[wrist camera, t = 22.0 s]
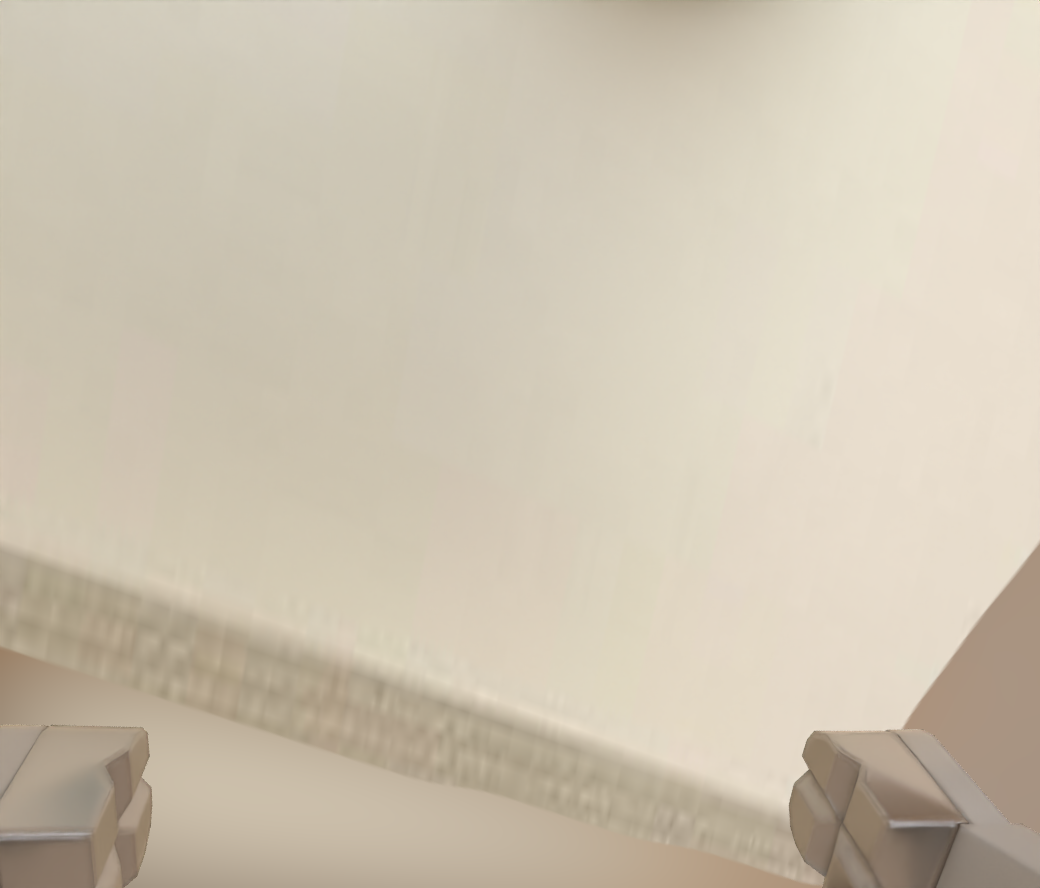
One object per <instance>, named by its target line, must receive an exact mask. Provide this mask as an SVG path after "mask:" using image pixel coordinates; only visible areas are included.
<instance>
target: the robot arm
mask: <svg viewBox="0 0 1040 888" xmlns="http://www.w3.org/2000/svg"><path fill="white" fill-rule="evenodd" d="M149 756H150V754H149V744H148V733H147V732H146V731H145V730H144V728H142V727H108V726H107V727H106V726H70V725H51V726H45V725H44V726H43V725H41V726H40V725H1V726H0V888H124V887H125V886H126V885H127V884H129V883H130V882H131V881H132V880H133V879H134V878H136V877H137V875H138V872H139V869H140V866H141V863H142V860H143V858H144V855H145V851H146V846H147V841H148V836H149V831H150V827H151V814H152V789H151V786H150V785H149V784H148V783H147V782H146V781H145V780H144V779H143V778H142V777H141V776H142V774H143V771H144V769H145V766H146V764H147V761H148V759H149ZM802 757H803V759H804V761H805V762H806V764H807V766H808V768H809V770H808V771H807V772H806V773H805V774H804V775H803V776H801V777H800V778H799V779H798V780H797V781H796V782H795V783H794V786H793V790H792V794H791V798H790V802H789V813H790V827H791V830H792V834H793V837H794V840H795V844H796V846H797V848H798V850H799V852H800V854H801V856H802V858H803V859H804V861H805V862H806V863H807V864H808V865H810V866H811V867H812V868H814V869H815V870H816V871H818V872H819V873H820V874H822V875H823V876H824V882H823V887H822V888H1040V834H1039V833H1037V832H1035V831H1034V830H1032V829H1030V828H1029V827H1027V826H1025V825H1023V824H1011V823H1010V822H1009V821H1008V820H1007V819H1006V818H1005V816H1004V815H1003V814H1002V813H1001V812H1000V811H999V810H998V808H997V807H996V806H995V805H994V804H993V803H992V802H991V800H990V799H989V798H988V797H987V796H986V795H985V793H984V792H983V791H982V790H981V789H980V788H979V787H978V785H977V784H976V783H975V782H974V781H973V780H972V779H971V777H970V776H969V775H968V774H967V773H966V772H965V771H964V769H963V768H962V767H961V766H960V765H959V764H958V762H957V761H956V760H955V759H954V758H953V757H952V756H951V754H950V753H949V752H948V751H947V750H946V749H945V748H944V746H943V745H942V744H941V743H940V742H939V741H938V739H937V738H936V737H935V736H934V735H932V734H930V733H929V732H927V731H925V730H923V729H911V730H886V731H814V732H813V733H812V734H811V736H810V737H809V738H808V739H807V741H806V744H805V748H804V751H803V754H802Z"/></svg>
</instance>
